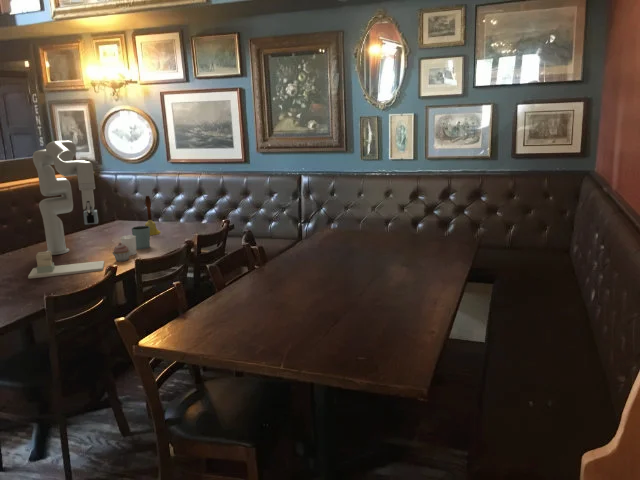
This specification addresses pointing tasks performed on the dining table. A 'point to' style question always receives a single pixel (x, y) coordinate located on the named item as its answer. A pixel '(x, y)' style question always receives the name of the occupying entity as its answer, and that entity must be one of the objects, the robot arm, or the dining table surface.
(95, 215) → the blue block
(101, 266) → the build board
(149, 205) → the handbell
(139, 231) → the teal plant pot
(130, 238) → the white cup
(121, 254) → the cupcake
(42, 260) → the beech block
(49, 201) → the robot arm
